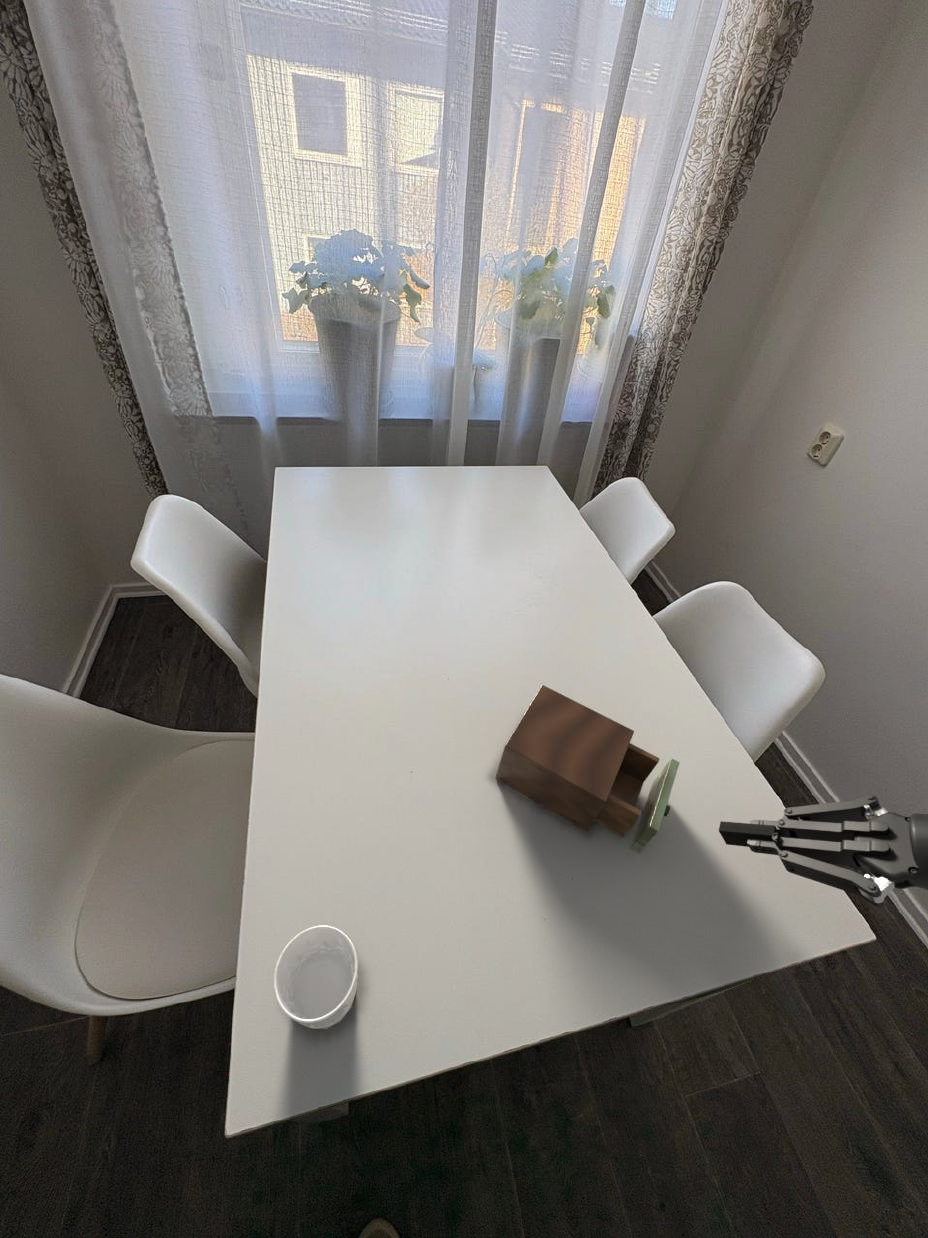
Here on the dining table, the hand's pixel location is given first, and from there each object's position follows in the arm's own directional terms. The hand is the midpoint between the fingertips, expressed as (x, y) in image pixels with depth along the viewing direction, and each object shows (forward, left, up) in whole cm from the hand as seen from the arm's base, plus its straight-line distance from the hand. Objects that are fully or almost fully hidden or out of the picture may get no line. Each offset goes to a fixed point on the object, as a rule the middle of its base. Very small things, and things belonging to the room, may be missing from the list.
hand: (723, 833), depth 68 cm
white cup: (-48, +19, -7) cm, 53 cm away
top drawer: (-5, +13, -5) cm, 15 cm away
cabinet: (-8, +21, -6) cm, 24 cm away
